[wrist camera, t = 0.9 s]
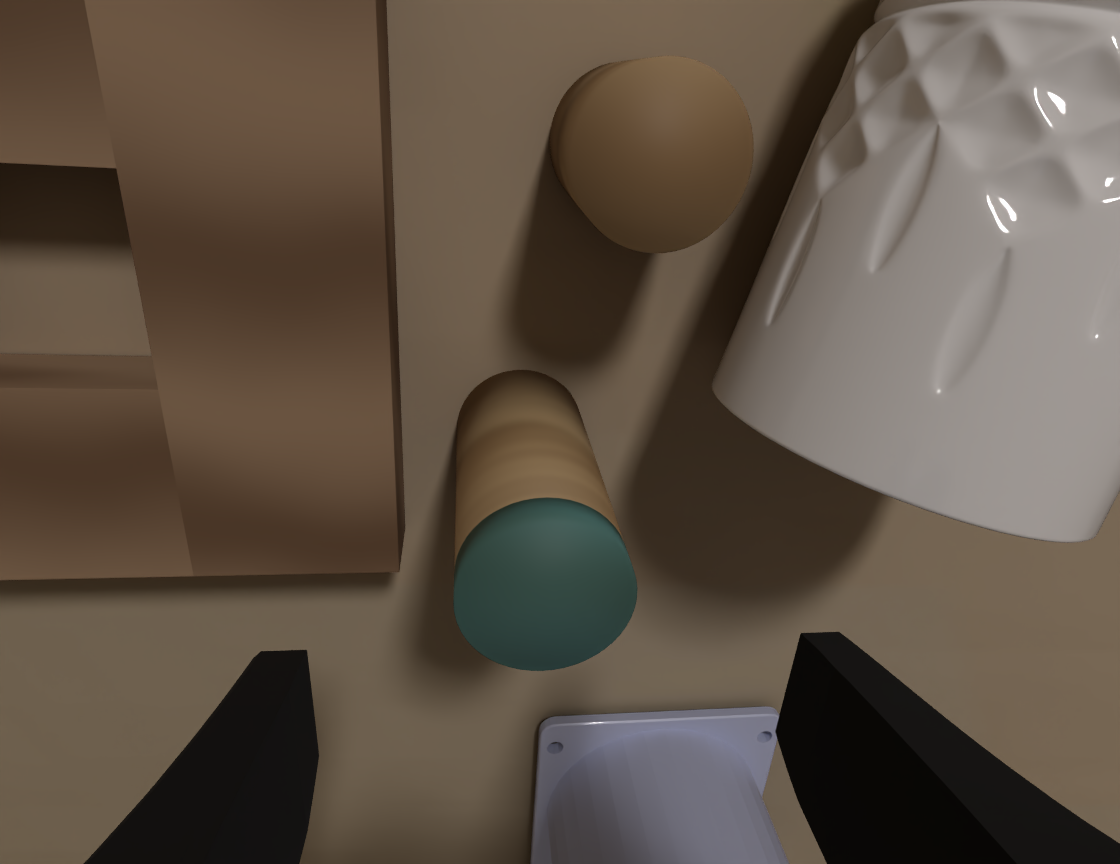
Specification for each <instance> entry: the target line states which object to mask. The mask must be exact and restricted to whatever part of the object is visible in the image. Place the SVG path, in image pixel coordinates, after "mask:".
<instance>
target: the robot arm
mask: <svg viewBox="0 0 1120 864" xmlns="http://www.w3.org/2000/svg"><path fill="white" fill-rule="evenodd" d="M761 732H762V733H761ZM777 739H778V742H779V745H780V749H781V752H782V755H783V758H784V761H785V764H786V768H787V771H788V773H789V776H790V779H791V782H792V785H793V788H794V791H795V794H796V796H797V799H798V802H799V804H800V806H801V808H802V810H803V813H804V815H805V817H806V819H807V821H808V824H809V826H810V828H811V830H812V832H813V834H814V837H815V839H816V841H817V843H818V845H819V847H820V849H821V852H822V854H823V856H824V858H825V860H826V862H827V864H1120V844H1119V843H1118V842H1116V841H1115V840H1113V839H1112V838H1110V837H1109V836H1107V835H1106V834H1104V833H1102V832H1101V831H1099V830H1098V829H1096V828H1095V827H1093V826H1092V825H1090V824H1089V823H1087V822H1086V821H1084V820H1083V819H1081V818H1080V817H1078V816H1077V815H1075V814H1074V813H1072V812H1071V811H1070V810H1068V809H1067V808H1065V807H1064V806H1062V805H1061V804H1059V803H1058V802H1057V801H1055V800H1054V799H1052V798H1051V797H1050V796H1048V795H1047V794H1045V793H1044V792H1043V791H1041V790H1040V789H1039V788H1037V787H1036V786H1034V785H1033V784H1032V783H1030V782H1029V781H1028V780H1026V779H1025V778H1023V777H1022V776H1021V775H1019V774H1018V773H1017V772H1015V771H1014V770H1012V769H1011V768H1010V767H1008V766H1007V765H1006V764H1004V763H1003V762H1002V761H1000V760H999V759H998V758H996V757H995V756H994V755H992V754H991V753H990V752H989V751H987V750H986V749H985V748H983V747H982V746H981V745H979V744H978V743H977V742H976V741H974V740H973V739H972V738H970V737H969V736H968V735H967V734H965V733H964V732H963V731H961V730H960V729H959V728H958V727H956V726H955V725H954V724H953V723H951V722H950V721H949V720H948V719H946V718H945V717H944V716H943V715H941V714H940V713H939V712H938V711H936V710H935V709H934V708H933V707H932V706H930V705H929V704H928V703H927V702H925V701H924V700H923V699H922V698H920V697H919V696H918V695H917V694H916V693H914V692H913V691H912V690H911V689H909V688H908V687H907V686H906V685H905V684H903V683H902V682H901V681H900V680H898V679H897V678H896V677H895V676H894V675H892V674H891V673H890V672H889V671H888V670H886V669H885V668H884V667H883V666H881V665H880V664H879V663H878V662H877V661H875V660H874V659H873V658H872V657H870V656H869V655H868V654H867V653H865V652H864V651H863V650H862V649H860V648H859V647H858V646H857V645H855V644H854V643H853V642H852V641H850V640H849V639H848V638H846V637H845V636H844V635H842V634H841V633H840V632H822V633H801V634H800V638H799V642H798V646H797V650H796V654H795V657H794V661H793V665H792V669H791V673H790V677H789V680H788V684H787V688H786V692H785V696H784V700H783V704H782V707H781V711H780V715H779V714H778V712H777V711H776V709H774V708H772V707H744V708H723V709H701V710H680V711H659V712H637V713H616V714H594V715H573V716H555V717H550V718H548V719H546V720H544V721H543V722H542V723H541V725H540V728H539V741H538V756H537V771H536V786H535V800H534V815H533V830H532V845H531V860H530V864H789V862H788V860H787V857H786V855H785V852H784V850H783V848H782V845H781V843H780V840H779V838H778V835H777V833H776V831H775V828H774V826H773V823H772V821H771V818H770V816H769V814H768V811H767V809H766V806H765V804H764V801H763V799H762V796H763V792H764V788H765V784H766V780H767V777H768V773H769V769H770V765H771V761H772V757H773V754H774V750H775V746H776V742H777ZM553 742H558V743H555V744H551V743H553ZM318 759H319V751H318V743H317V734H316V725H315V717H314V708H313V699H312V690H311V682H310V673H309V664H308V656H307V650H289V651H261V652H260V653H259V654H258V655H256V656H255V657H254V658H253V659H252V661H251V662H250V664H249V665H248V666H247V668H246V669H245V670H244V672H243V673H242V675H241V676H240V677H239V679H238V680H237V681H236V683H235V684H234V685H233V687H232V688H231V689H230V691H229V692H228V693H227V695H226V696H225V697H224V699H223V700H222V701H221V703H220V704H219V705H218V707H217V708H216V709H215V711H214V712H213V713H212V714H211V716H210V717H209V718H208V720H207V721H206V722H205V723H204V725H203V726H202V727H201V729H200V730H199V731H198V732H197V734H196V735H195V736H194V737H193V739H192V740H191V741H190V742H189V744H188V745H187V746H186V747H185V748H184V750H183V751H182V752H181V753H180V754H179V756H178V757H177V758H176V759H175V761H174V762H173V763H172V764H171V765H170V767H169V768H168V769H167V770H166V771H165V773H164V774H163V775H162V776H161V778H160V779H159V780H158V781H157V782H156V784H155V785H154V786H153V787H152V788H151V789H150V791H149V792H148V793H147V794H146V795H145V796H144V798H143V799H142V800H141V801H140V802H139V803H138V804H137V805H136V807H135V808H134V809H133V810H132V811H131V812H130V813H129V814H128V815H127V817H126V818H125V819H124V820H123V821H122V822H121V823H120V824H119V825H118V827H117V828H116V829H115V830H114V831H113V832H112V833H111V834H110V835H109V837H108V838H107V839H106V840H105V841H104V842H103V843H102V844H101V846H100V847H99V848H98V849H97V850H96V851H95V852H94V853H93V854H92V855H91V857H90V858H89V859H88V860H87V861H86V862H85V863H84V864H299V862H300V858H301V854H302V850H303V847H304V843H305V839H306V835H307V831H308V824H309V818H310V812H311V806H312V799H313V793H314V786H315V779H316V772H317V765H318Z"/></svg>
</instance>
